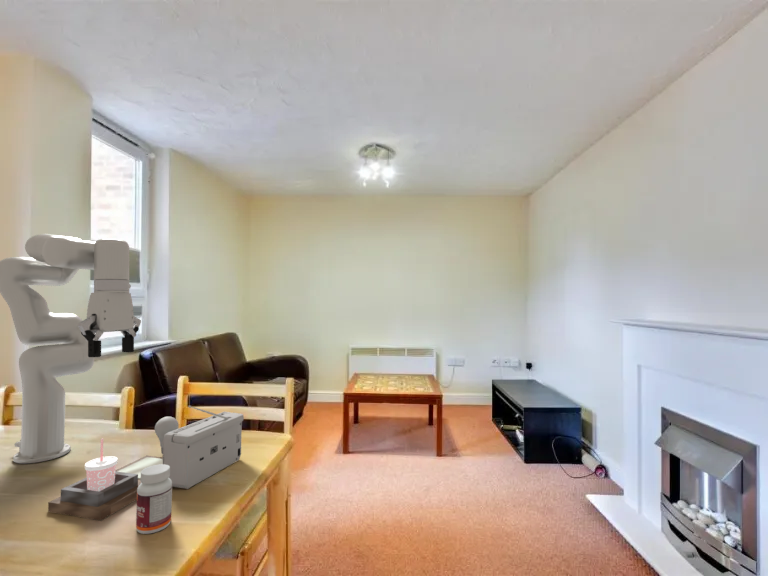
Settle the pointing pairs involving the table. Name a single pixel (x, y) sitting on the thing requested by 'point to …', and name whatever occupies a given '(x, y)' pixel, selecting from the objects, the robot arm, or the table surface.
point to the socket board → (103, 493)
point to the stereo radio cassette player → (202, 448)
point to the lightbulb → (165, 428)
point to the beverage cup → (101, 471)
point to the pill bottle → (154, 499)
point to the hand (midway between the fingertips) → (112, 354)
